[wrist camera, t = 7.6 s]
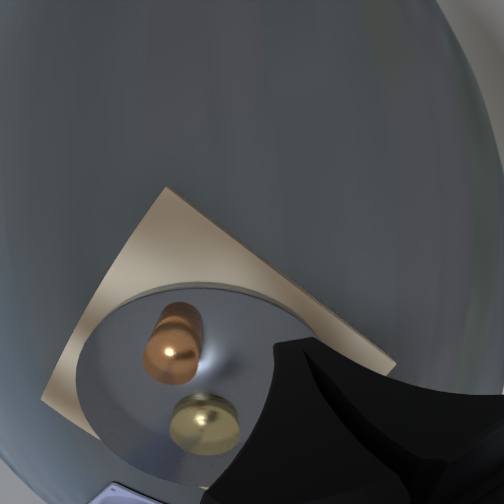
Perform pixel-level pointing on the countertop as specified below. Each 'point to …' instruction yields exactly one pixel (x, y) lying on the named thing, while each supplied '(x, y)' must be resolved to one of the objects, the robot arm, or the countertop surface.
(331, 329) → the wheel base
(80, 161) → the countertop surface
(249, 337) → the handwheel
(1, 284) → the countertop surface
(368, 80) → the countertop surface
